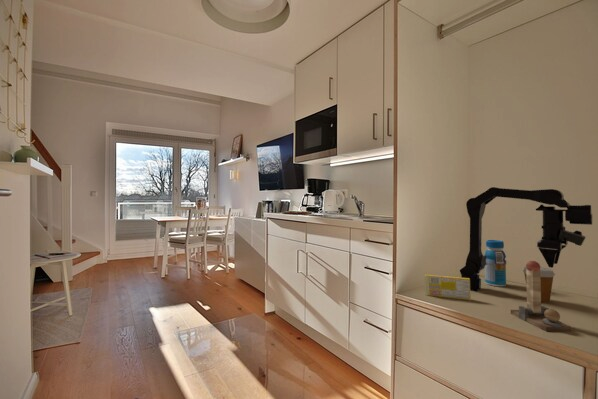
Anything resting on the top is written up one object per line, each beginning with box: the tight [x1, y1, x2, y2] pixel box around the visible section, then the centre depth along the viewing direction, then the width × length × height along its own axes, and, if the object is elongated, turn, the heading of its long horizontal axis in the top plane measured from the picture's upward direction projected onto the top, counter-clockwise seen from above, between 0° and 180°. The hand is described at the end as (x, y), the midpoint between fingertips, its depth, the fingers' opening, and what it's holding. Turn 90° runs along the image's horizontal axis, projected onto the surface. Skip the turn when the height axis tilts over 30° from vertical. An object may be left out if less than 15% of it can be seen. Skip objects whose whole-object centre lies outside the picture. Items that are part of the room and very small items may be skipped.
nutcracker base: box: [510, 305, 572, 332], centre depth 91 cm, size 14×8×6 cm, turn 1°
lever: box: [525, 260, 544, 315], centre depth 93 cm, size 4×4×17 cm
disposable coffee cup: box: [522, 266, 556, 304], centre depth 111 cm, size 10×10×12 cm
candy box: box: [424, 274, 472, 301], centre depth 115 cm, size 16×2×8 cm, turn 65°
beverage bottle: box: [483, 239, 507, 287], centre depth 132 cm, size 8×8×20 cm
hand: (553, 265), depth 106 cm, fingers open, 9 cm apart
